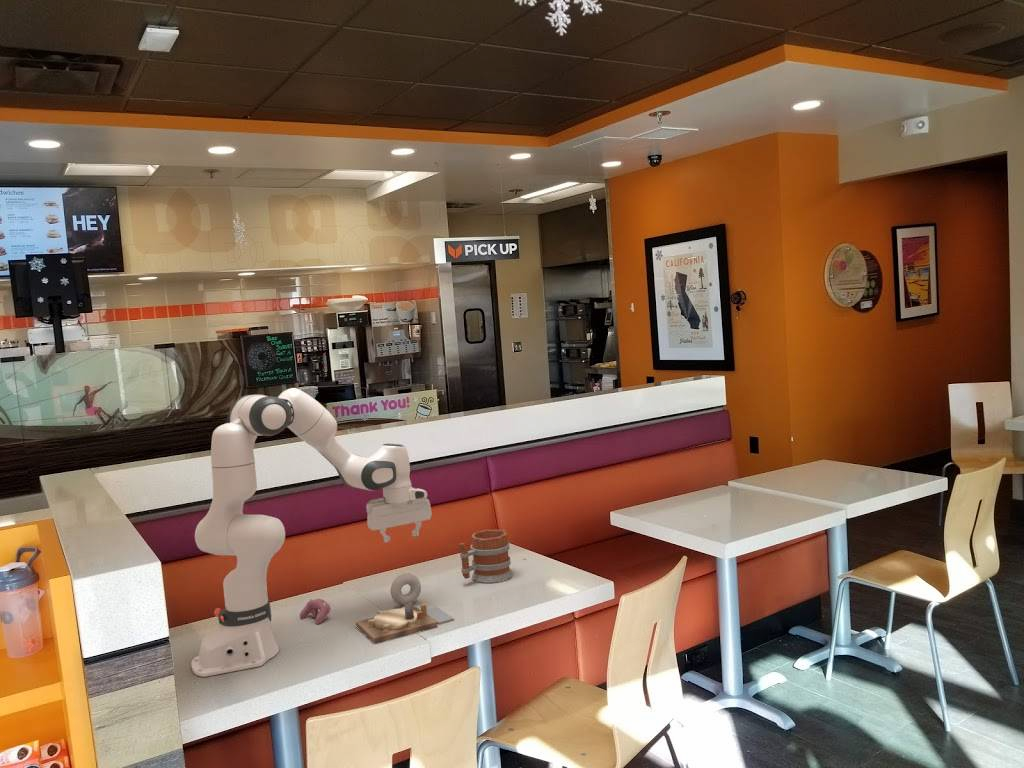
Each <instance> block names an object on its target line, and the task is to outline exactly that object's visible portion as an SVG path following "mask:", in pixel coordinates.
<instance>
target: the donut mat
mask: <svg viewBox="0 0 1024 768" xmlns="http://www.w3.org/2000/svg"><path fill="white" fill-rule="evenodd" d="M426 609H427V615H428V616H430V617H431V618H432V619H434V620H435V621H437V625H442V624H446V623H450V621H451V622H453V621H454V622H455V618H454V617H453V616H451V615H450V614H448V613H447V612H446V611H443V610H442V609H441V608H440V607H438V606H432V607H429V608H426Z"/></svg>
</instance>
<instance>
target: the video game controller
mask: <svg viewBox="0 0 1024 768" xmlns="http://www.w3.org/2000/svg"><path fill="white" fill-rule="evenodd" d="M330 612H331V605H330V604H329V603H328V602H327V601H326V600H325V599H322V598H311V599H309V601H307V603H306V604H305V606H304V607H303V608H302V610H301V611H300V613H299V618H300V619H301V620H303V618H304V619H305V618H306V617H308V616H309V615H310V617H312V618H315V617H316V618H315V621H314V622H315V624H316V625H319V624H318V623H320V624H322V623H323V622H324V620H326V618H327V617H328V614H330Z"/></svg>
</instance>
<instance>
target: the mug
mask: <svg viewBox="0 0 1024 768" xmlns="http://www.w3.org/2000/svg"><path fill="white" fill-rule="evenodd" d="M507 533H508V531H506V530H505V529H484V530H480V531H476V532H474V533H472V534H471V545H470V550H469V551H468V548H467V546H466V545H465V543H464V542H460V543H459V546H460V553H459V555H460V558H461V573H462V574H461V575H462V576H463V578H464V579H465V580H466V579H470V573H471V572H473V573H472V575H471V579H472V580H473V581H474V580H475V582H476V581H478V582H477V583H479V582H484V583H483V584H492V583H491V582H497V583H500V582H499V581H502V582H504V581H503V580H505V581H507V580H506V579H508V578H509V579H510V577H511V578H512V576H513V571H512V570H511V568H510V566H511V564H512V563H511V557H510V556H509V550H510V542H509V541H508V535H507ZM471 556H472V560H471V565H470V563H469V562H470V561H469V557H471ZM509 579H508V580H509ZM489 582H490V583H489Z"/></svg>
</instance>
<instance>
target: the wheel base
mask: <svg viewBox="0 0 1024 768" xmlns="http://www.w3.org/2000/svg"><path fill="white" fill-rule="evenodd" d="M419 606H420V609H419V608H418V607H417V606H413V610H414V611H416V612H418V611H422V612H423V618H417V621H416V623H415V627H412V628H410V627H405V628H401V629H395V630H390V631H389V632H384V631H383V629H379V628H377V627H375V626H373V627H369V624H368V620H372V619H374V617H375V616H374V617H370V618H366V619H361V620H358V621H355V627H356V626H357V627H358V628H359V629H360V630H361V631H362V632H363V633H364V634H365V635H366V636H365V635H364V634H363V633H362V632H361V631H360V630H359V629H358V628H357V627H356V628H357V629H358V630H359V631H360V632H361V633H362V634H363V635H364V636H365V637H367V639H368V640H370V641H371V642H372V643H373V644H374V643H376V644H379V643H378V642H380V643H384V642H387V641H391V640H395V639H399V638H401V637H406V636H409V635H414V634H417V633H420V632H419V631H421V632H424V631H423V630H425V631H428V630H432V629H435V628H439V627H438V626H439V624H437V621H435V620H434V619H432V618H431V617H430V616H428V615H427V609H428V608H427V604H425V603H421V604H419ZM416 632H417V633H416ZM386 640H387V641H386ZM383 641H384V642H383Z"/></svg>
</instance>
